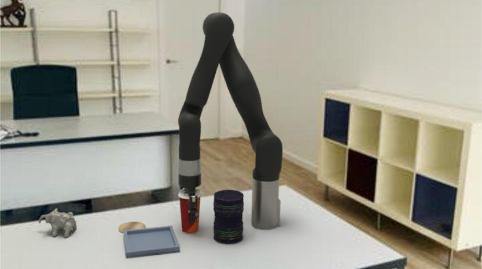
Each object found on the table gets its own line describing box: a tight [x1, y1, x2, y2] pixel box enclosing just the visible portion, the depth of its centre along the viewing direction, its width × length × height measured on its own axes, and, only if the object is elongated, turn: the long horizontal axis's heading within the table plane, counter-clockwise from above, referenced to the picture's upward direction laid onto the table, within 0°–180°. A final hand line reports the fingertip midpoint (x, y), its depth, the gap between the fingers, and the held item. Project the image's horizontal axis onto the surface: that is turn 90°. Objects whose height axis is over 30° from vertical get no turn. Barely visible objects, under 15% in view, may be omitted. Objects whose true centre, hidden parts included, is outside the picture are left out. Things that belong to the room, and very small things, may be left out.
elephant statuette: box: [38, 207, 78, 239], centre depth 158 cm, size 9×12×8 cm
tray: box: [123, 225, 181, 259], centre depth 152 cm, size 16×16×2 cm
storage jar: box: [212, 189, 245, 245], centre depth 156 cm, size 10×10×15 cm
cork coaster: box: [117, 221, 146, 234], centre depth 163 cm, size 9×9×1 cm
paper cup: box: [178, 187, 202, 234], centre depth 161 cm, size 8×8×14 cm
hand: (190, 218), depth 162 cm, fingers closed on paper cup, 6 cm apart
